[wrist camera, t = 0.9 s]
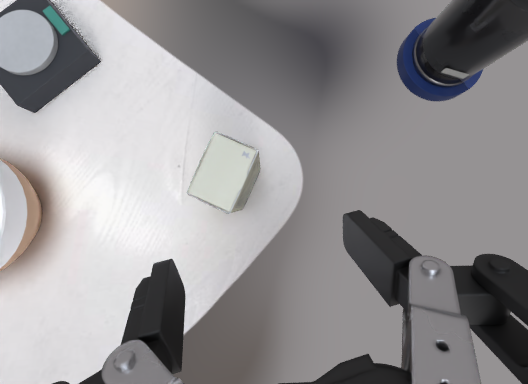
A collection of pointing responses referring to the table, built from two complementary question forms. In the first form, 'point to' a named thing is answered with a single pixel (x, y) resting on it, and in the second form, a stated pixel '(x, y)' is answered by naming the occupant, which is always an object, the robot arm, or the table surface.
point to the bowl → (16, 213)
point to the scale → (39, 53)
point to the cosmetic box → (225, 174)
